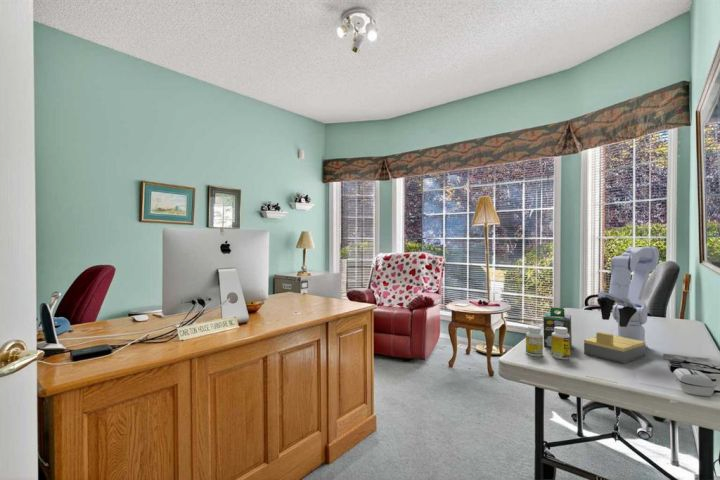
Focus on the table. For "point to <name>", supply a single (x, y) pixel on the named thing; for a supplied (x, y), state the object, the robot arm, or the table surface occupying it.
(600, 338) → the lid end segment
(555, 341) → the supplement bottle
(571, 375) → the table surface
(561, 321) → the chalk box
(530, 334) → the supplement bottle
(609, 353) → the parts tub
